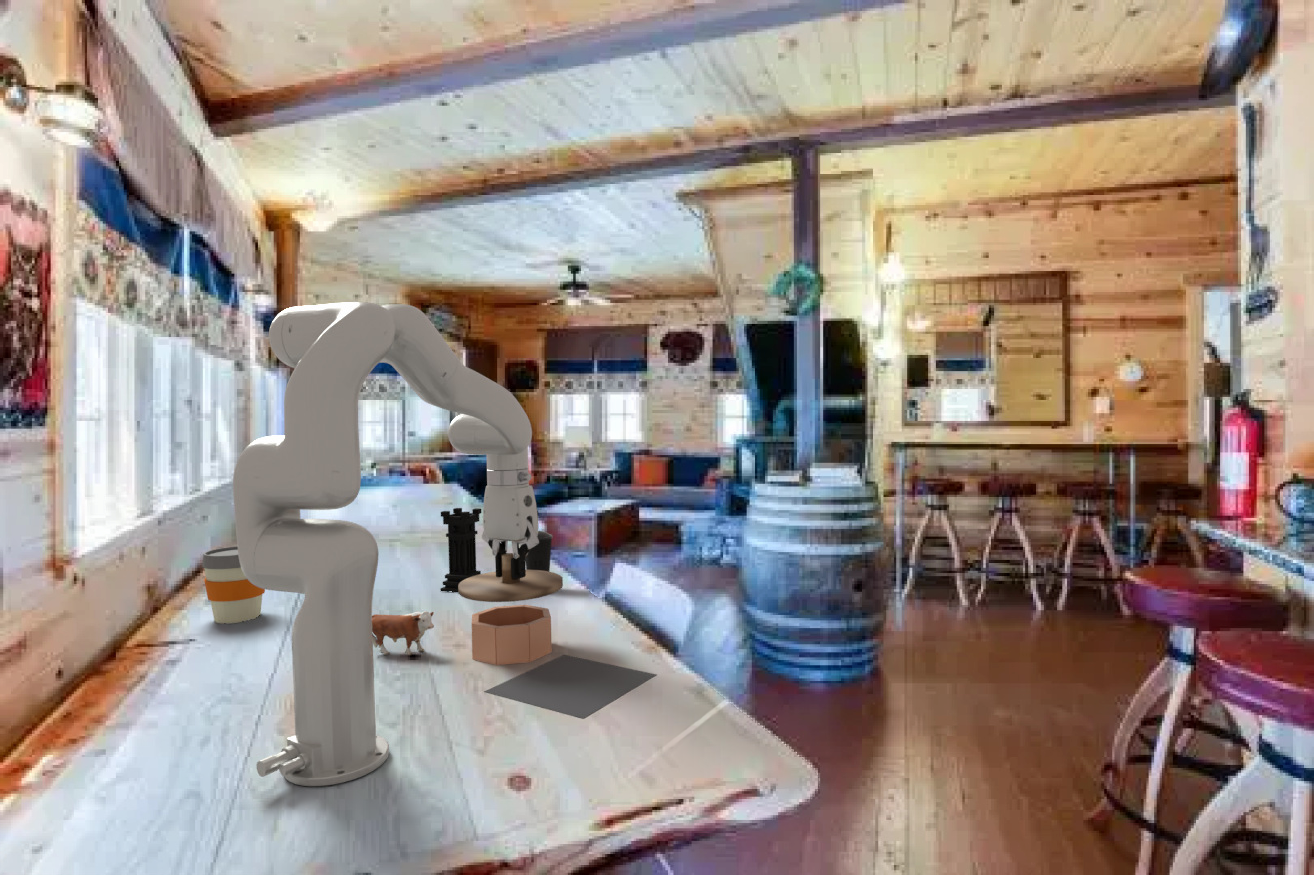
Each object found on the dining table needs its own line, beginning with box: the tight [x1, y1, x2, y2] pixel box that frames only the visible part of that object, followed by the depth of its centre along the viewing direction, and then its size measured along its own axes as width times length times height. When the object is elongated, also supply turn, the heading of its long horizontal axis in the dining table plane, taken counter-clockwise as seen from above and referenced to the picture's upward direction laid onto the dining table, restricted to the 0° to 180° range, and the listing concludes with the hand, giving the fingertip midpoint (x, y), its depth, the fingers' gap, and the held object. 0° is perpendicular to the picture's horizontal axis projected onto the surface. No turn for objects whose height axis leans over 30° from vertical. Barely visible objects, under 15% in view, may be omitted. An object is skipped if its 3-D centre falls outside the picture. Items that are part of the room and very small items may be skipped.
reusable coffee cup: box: [201, 545, 266, 624], centre depth 163 cm, size 13×13×15 cm
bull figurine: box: [372, 610, 435, 656], centre depth 138 cm, size 4×13×8 cm, turn 78°
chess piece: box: [440, 507, 482, 593], centre depth 186 cm, size 8×8×20 cm
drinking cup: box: [525, 509, 554, 572], centre depth 183 cm, size 8×8×20 cm
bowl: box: [471, 604, 553, 666], centre depth 137 cm, size 14×14×7 cm
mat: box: [483, 654, 658, 720], centre depth 120 cm, size 20×20×1 cm
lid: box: [458, 552, 564, 603], centre depth 137 cm, size 19×19×6 cm
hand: (510, 576), depth 137 cm, fingers closed on lid, 3 cm apart
